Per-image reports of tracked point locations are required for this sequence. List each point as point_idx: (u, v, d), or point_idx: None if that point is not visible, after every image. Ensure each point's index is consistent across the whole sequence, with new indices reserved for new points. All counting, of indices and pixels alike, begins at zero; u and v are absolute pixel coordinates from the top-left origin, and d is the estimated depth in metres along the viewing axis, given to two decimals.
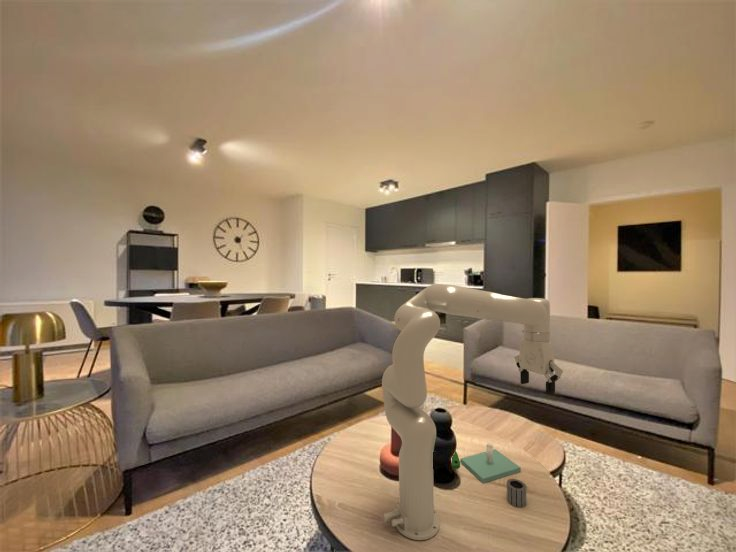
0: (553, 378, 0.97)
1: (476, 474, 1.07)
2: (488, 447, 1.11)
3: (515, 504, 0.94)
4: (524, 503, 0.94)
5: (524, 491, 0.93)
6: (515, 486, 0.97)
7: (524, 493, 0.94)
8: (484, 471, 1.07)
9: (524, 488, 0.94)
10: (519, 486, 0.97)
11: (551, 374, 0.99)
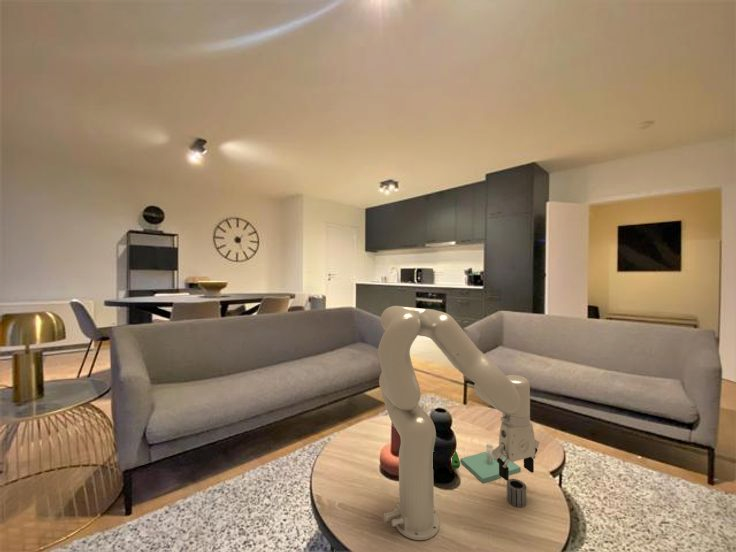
0: (535, 452, 0.97)
1: (476, 474, 1.07)
2: (488, 447, 1.11)
3: (515, 504, 0.94)
4: (524, 503, 0.94)
5: (524, 491, 0.93)
6: (515, 486, 0.97)
7: (524, 493, 0.94)
8: (484, 471, 1.07)
9: (524, 488, 0.94)
10: (519, 486, 0.97)
11: None
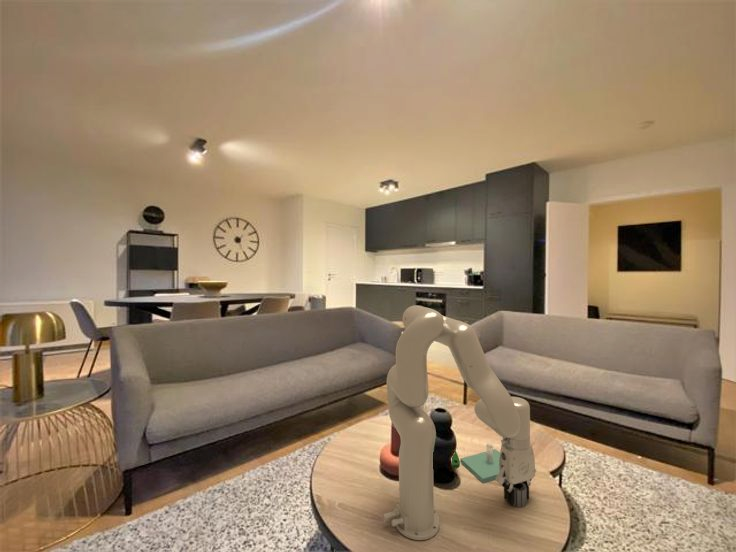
0: (530, 479, 0.97)
1: (476, 474, 1.07)
2: (488, 447, 1.11)
3: (515, 504, 0.94)
4: (524, 503, 0.94)
5: (524, 491, 0.93)
6: (515, 486, 0.97)
7: (524, 493, 0.94)
8: (484, 471, 1.07)
9: (524, 488, 0.94)
10: (519, 486, 0.97)
11: None
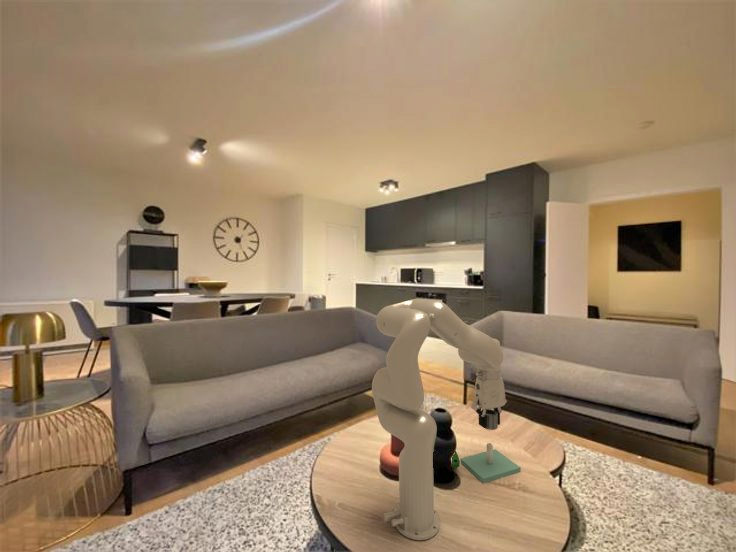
0: (501, 408, 1.13)
1: (476, 474, 1.07)
2: (488, 447, 1.11)
3: (487, 427, 1.10)
4: (495, 426, 1.10)
5: (495, 416, 1.09)
6: None
7: (495, 418, 1.10)
8: (484, 471, 1.07)
9: (495, 414, 1.10)
10: (492, 414, 1.13)
11: None
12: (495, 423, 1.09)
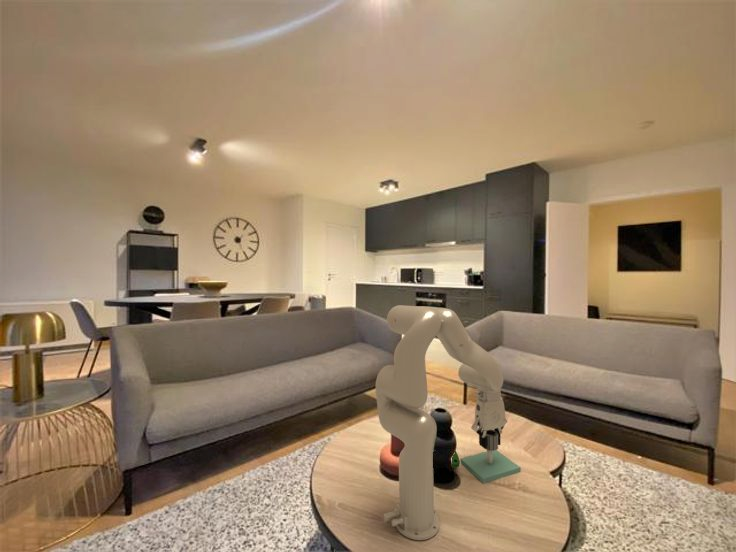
0: (501, 428, 1.13)
1: (476, 474, 1.07)
2: None
3: (488, 448, 1.10)
4: (496, 447, 1.10)
5: (496, 437, 1.10)
6: (489, 434, 1.14)
7: (496, 438, 1.10)
8: (484, 471, 1.07)
9: (496, 434, 1.10)
10: (492, 434, 1.13)
11: None
12: (495, 444, 1.10)
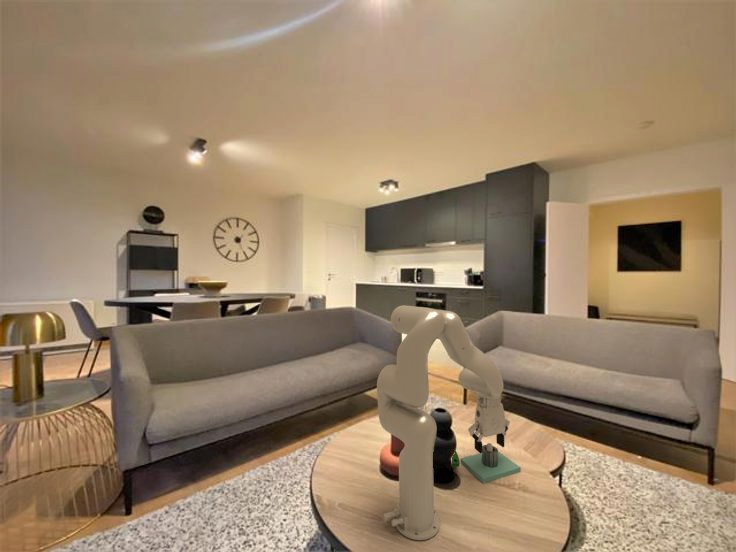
0: (505, 430, 1.13)
1: (476, 474, 1.07)
2: (488, 447, 1.11)
3: (488, 465, 1.10)
4: (496, 464, 1.10)
5: (495, 454, 1.10)
6: None
7: (496, 455, 1.10)
8: (484, 471, 1.07)
9: (496, 451, 1.10)
10: None
11: None
12: (495, 461, 1.10)
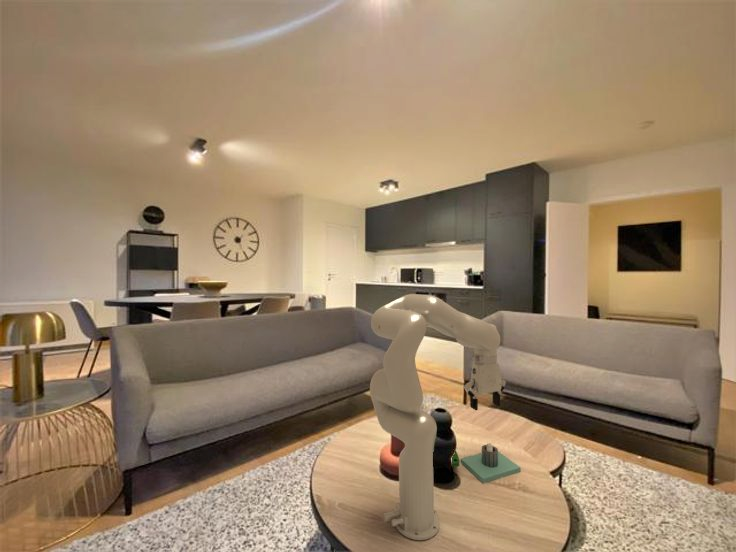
0: (502, 389, 1.14)
1: (476, 474, 1.07)
2: (488, 447, 1.11)
3: (488, 465, 1.10)
4: (496, 464, 1.10)
5: (495, 454, 1.10)
6: None
7: (496, 455, 1.10)
8: (484, 471, 1.07)
9: (496, 451, 1.10)
10: None
11: None
12: (495, 461, 1.10)
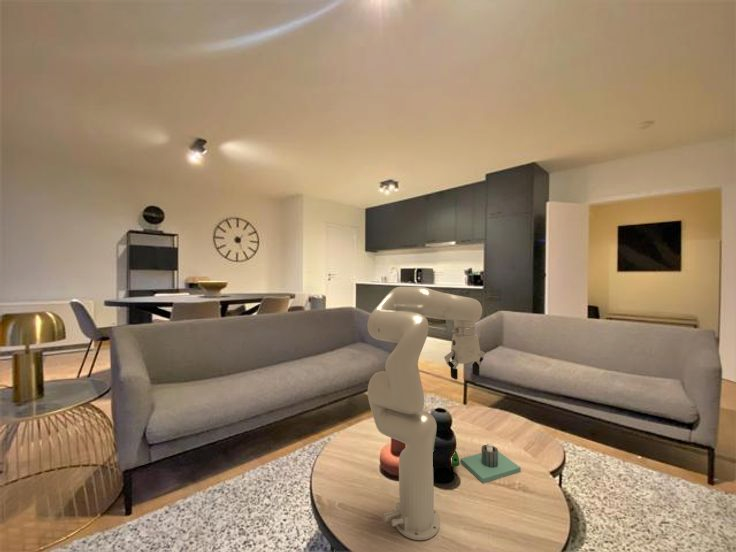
0: (481, 360, 1.19)
1: (476, 474, 1.07)
2: (488, 447, 1.11)
3: (488, 465, 1.10)
4: (496, 464, 1.10)
5: (495, 454, 1.10)
6: None
7: (496, 455, 1.10)
8: (484, 471, 1.07)
9: (496, 451, 1.10)
10: None
11: None
12: (495, 461, 1.10)
